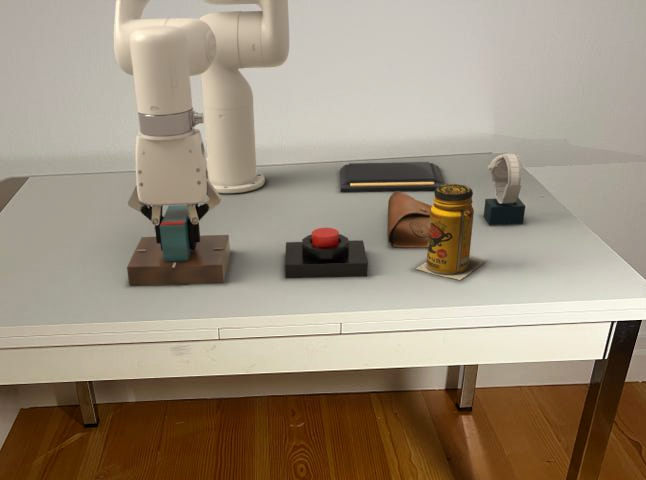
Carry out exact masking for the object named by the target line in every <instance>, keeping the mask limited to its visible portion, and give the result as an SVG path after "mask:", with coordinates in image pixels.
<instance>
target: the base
mask: <svg viewBox="0 0 646 480" xmlns="http://www.w3.org/2000/svg"><path fill="white" fill-rule="evenodd" d="M230 253H231V246H230V236H229V234H206V235H205V234H204V235H200V242H197V244H196V247H195V250H191V253H190V256H189V259H188V261H172V262H164V259H163V251H161V244H160V243H157V241H156V236H141V237H140V239H139V241H138V244H137V246H136V248H135V250H134V252H133V253H132V256H131V258H130V260H129V262H128V263H127V266H126V270H127V279H128V284H129V286H133V287H134V286H165V285H166V286H174V285H175V286H176V285H178V286H180V285H210V284H211V285H213V284H214V285H215V284H217V285H219V284H224V283H225V278H226V275H227V268H228V265H229V259H230Z"/></svg>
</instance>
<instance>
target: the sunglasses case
mask: <svg viewBox="0 0 646 480" xmlns="http://www.w3.org/2000/svg"><path fill="white" fill-rule="evenodd" d="M387 203H388V204H387V239H388V243H389V244H390V245H391V246H392V247H393V248H398V249H399V248H400V249H428V238H429V224H430V223H429V222H430V211H431V207H432V206H433V205H431V204H428V203H426V202H423V201H420V200H417V199H415V198H414V197H412V196H411V195H409V194H407V193H405V192H404V191H393V193H392V194H391V195H390V196H389V199H388V202H387Z"/></svg>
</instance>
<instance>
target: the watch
mask: <svg viewBox="0 0 646 480" xmlns="http://www.w3.org/2000/svg"><path fill="white" fill-rule="evenodd" d="M487 170H488V171H490V174H491V179H492V180H491V181H492V182H493V183H494V194H495V198H485V199H484V207H483V208H484V209H483V218H484V220H485V221H486V222H487V224H488V225H489V226H510V225H524V220H525V213H526V205H525V204H524V202H523V201H522V200H521V199H520V198H519V197H520V193H521V190H522V185H521V184H522V173H523V172H522V160H521V157H520V154H516V153H515V154H514V153H503V154H500V155H497V156H496V157H494V158H493V159H492V160H491V161H490V164H488V165H487Z"/></svg>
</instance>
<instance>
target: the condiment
mask: <svg viewBox="0 0 646 480" xmlns="http://www.w3.org/2000/svg"><path fill="white" fill-rule="evenodd" d="M433 194H434V195H433V199H432V200H433V205H431V206H432V207H431V211H430V222H429V223H430V224H429V238H428V248H427V250H426V251H427V252H426V261H425V262H423V263H422V264H421V265H419V266H418V267H416V268H414V269H415V270H418V271H421V272H425V273H428V274H432V275H435V276H439V277H443V278H444V277H445V278H450V279H454V280H458V281H461V280H463V279H464V278H465V277H467V276H469V275H470V274H471V273H472V272H474V271H475V270H476V269H477V268H478V267H480V266H481V265H483V264H484V263H485V262H487V259H483V258H482V259H481V258H475V257H470V256H471V244H472V235H473V224H474V214H475V209H474V207H473V205H472V204H473V195H474V192H473V189H472V188H471V187H470V186H467V185H464V184H459V183H457V184H456V183H450V184H444V185H441V186H439V187H437V188H436V189H435V191H433Z"/></svg>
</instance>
